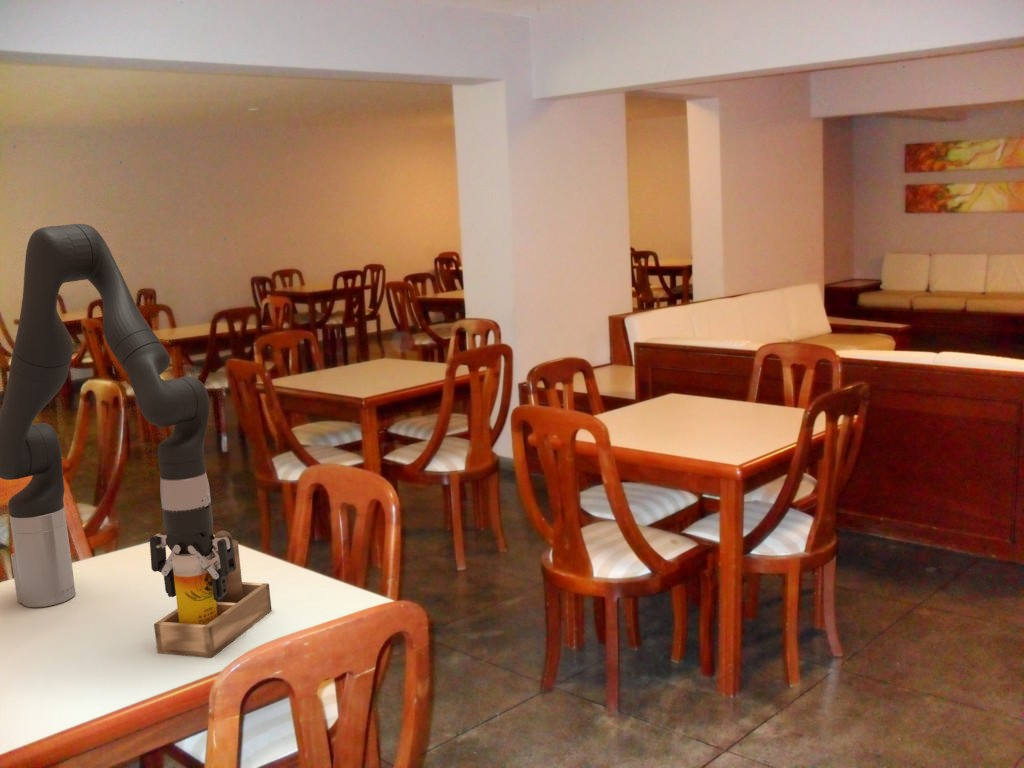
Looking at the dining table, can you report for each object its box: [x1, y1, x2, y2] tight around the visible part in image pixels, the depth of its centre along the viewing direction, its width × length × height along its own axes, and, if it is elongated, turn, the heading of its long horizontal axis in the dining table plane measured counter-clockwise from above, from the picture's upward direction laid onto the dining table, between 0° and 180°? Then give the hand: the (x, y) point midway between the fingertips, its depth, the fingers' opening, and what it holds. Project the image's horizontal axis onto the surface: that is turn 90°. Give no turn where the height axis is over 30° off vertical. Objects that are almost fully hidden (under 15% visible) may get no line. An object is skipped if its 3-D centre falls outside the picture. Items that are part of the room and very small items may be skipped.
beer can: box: [172, 554, 218, 625], centre depth 163 cm, size 6×6×15 cm
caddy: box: [153, 530, 272, 658], centre depth 167 cm, size 10×19×16 cm, turn 164°
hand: (196, 597), depth 163 cm, fingers open, 8 cm apart
